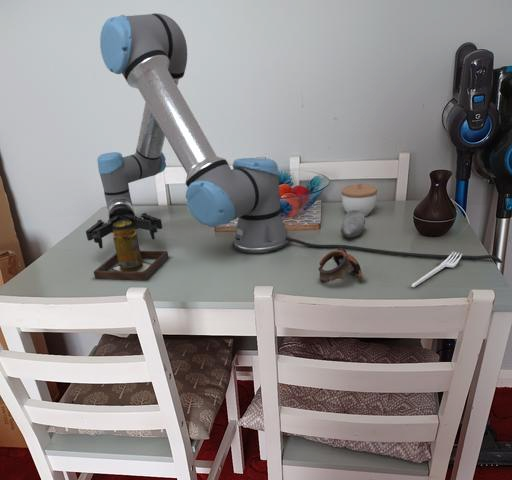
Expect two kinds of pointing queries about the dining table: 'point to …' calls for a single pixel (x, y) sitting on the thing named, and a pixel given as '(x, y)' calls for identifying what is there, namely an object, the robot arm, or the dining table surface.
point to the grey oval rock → (353, 223)
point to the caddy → (124, 275)
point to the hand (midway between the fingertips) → (126, 239)
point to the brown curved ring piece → (339, 265)
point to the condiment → (127, 248)
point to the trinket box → (359, 198)
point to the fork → (440, 267)
